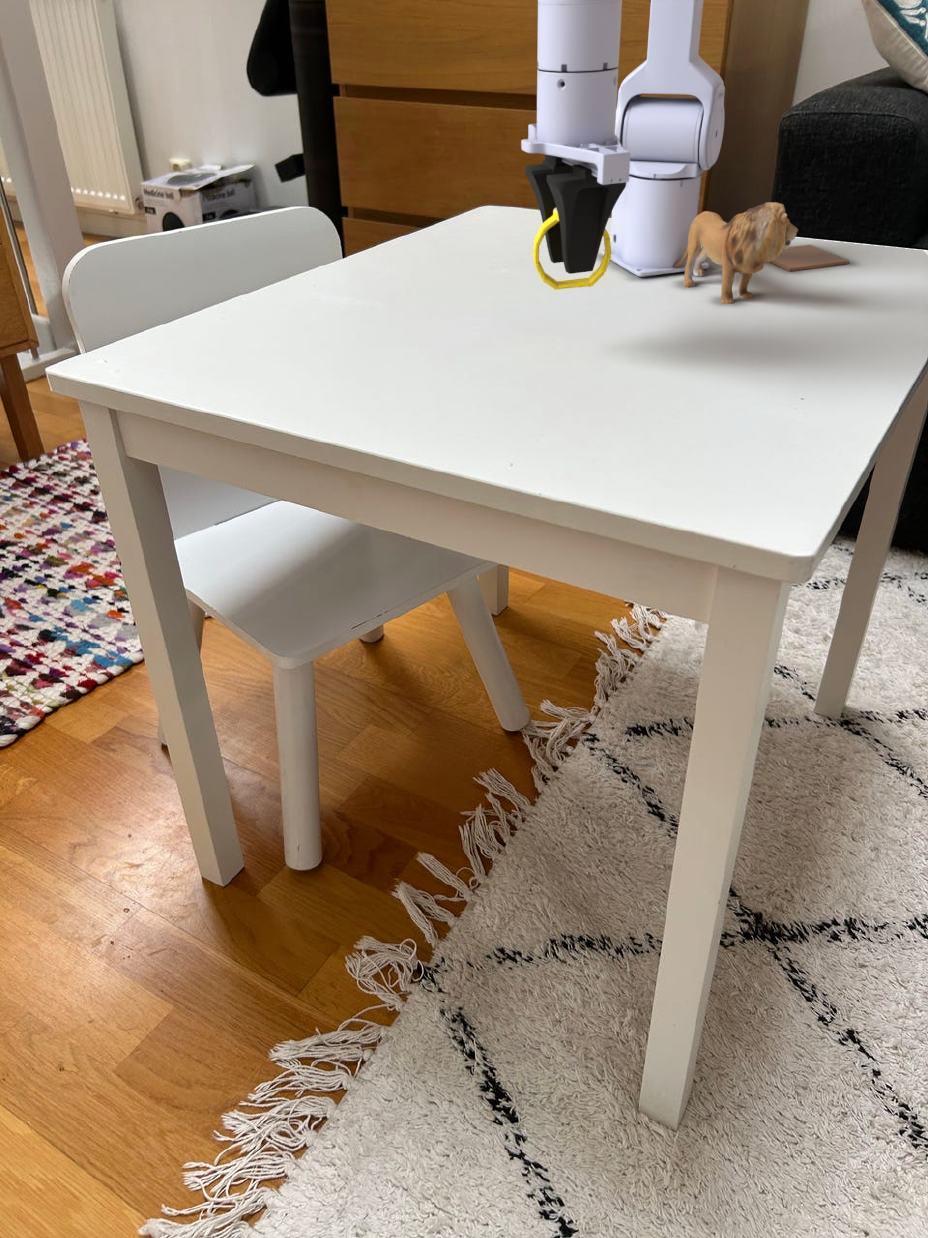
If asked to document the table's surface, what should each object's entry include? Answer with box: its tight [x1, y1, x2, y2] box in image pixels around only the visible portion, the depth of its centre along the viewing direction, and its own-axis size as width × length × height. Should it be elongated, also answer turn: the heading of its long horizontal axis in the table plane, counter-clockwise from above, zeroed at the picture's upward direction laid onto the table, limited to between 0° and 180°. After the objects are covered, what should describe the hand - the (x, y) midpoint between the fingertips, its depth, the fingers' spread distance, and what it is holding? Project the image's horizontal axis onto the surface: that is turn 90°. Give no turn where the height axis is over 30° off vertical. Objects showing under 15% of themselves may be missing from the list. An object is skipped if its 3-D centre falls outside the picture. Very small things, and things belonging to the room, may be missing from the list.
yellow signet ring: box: [532, 208, 612, 291], centre depth 75 cm, size 6×3×6 cm, turn 90°
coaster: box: [769, 244, 850, 272], centre depth 100 cm, size 7×7×1 cm
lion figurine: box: [673, 201, 799, 305], centre depth 90 cm, size 15×5×9 cm, turn 30°
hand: (571, 265), depth 76 cm, fingers closed on yellow signet ring, 2 cm apart
